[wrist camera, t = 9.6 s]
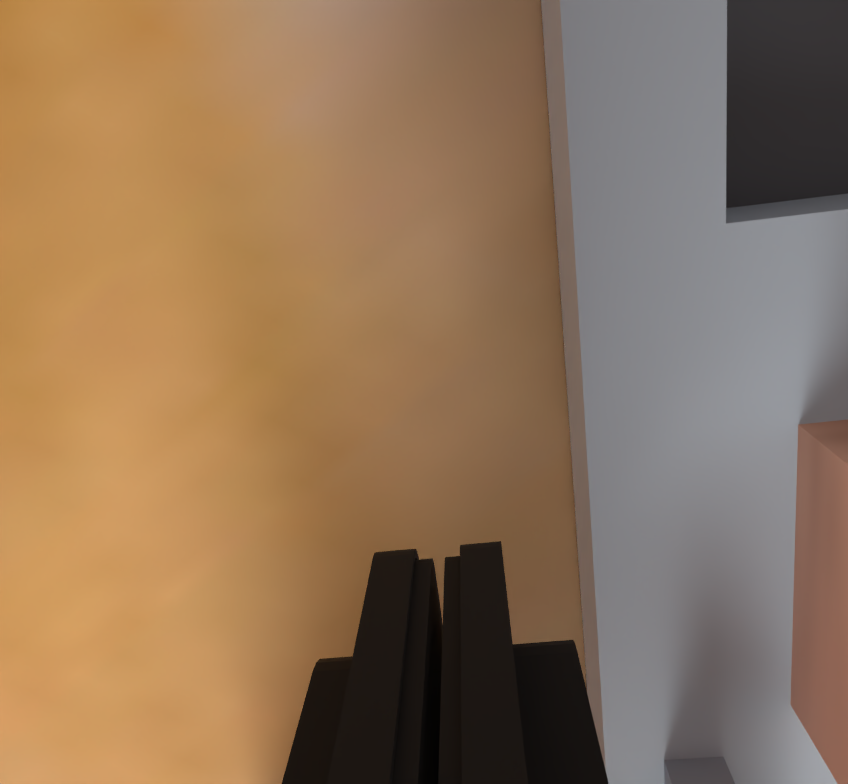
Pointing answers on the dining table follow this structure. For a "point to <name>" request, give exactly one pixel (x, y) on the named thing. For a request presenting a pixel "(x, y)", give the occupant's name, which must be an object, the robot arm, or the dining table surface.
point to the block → (822, 592)
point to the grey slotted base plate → (697, 359)
